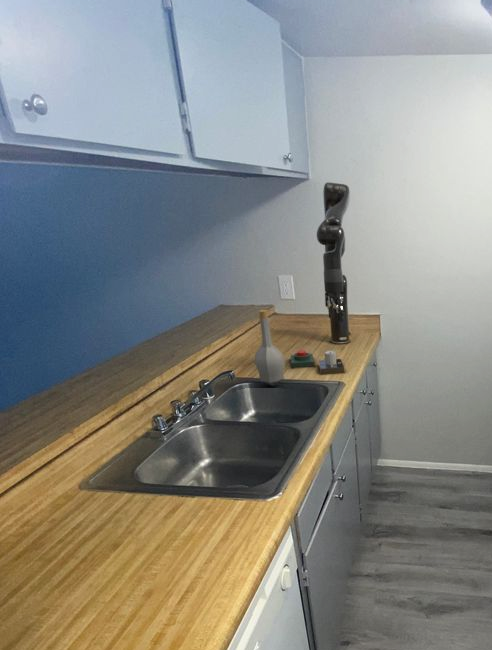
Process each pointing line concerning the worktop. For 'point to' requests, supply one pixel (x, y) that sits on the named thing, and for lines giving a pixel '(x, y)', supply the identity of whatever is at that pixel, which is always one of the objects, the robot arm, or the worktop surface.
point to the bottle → (268, 355)
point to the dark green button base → (302, 361)
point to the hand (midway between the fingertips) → (335, 320)
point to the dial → (330, 357)
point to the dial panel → (331, 367)
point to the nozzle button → (301, 353)
